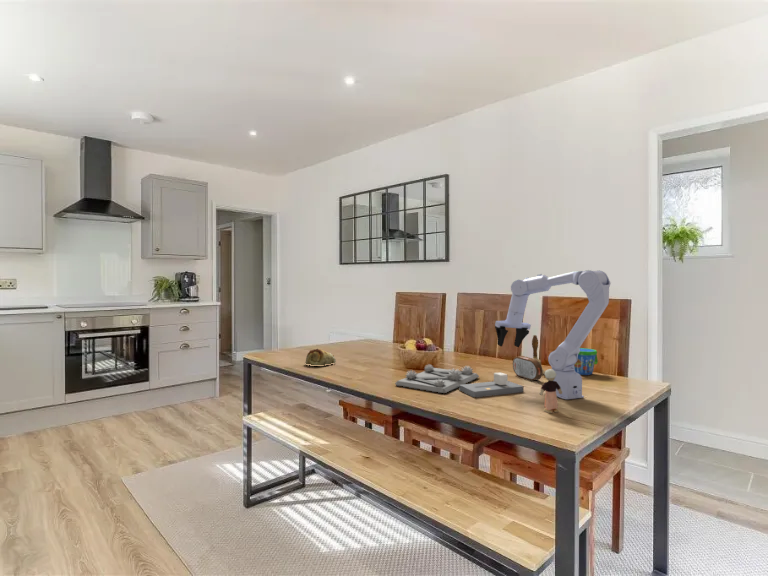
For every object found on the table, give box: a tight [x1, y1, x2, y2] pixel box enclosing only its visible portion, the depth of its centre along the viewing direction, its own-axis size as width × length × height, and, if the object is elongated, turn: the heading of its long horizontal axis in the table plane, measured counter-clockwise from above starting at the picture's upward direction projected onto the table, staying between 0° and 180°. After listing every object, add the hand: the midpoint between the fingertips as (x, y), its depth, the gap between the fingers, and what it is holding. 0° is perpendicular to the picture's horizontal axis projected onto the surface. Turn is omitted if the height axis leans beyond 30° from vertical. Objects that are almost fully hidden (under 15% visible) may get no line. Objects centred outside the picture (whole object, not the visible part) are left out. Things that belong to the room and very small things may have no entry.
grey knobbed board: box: [394, 364, 480, 394], centre depth 164 cm, size 30×22×7 cm
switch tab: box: [493, 371, 509, 385], centre depth 152 cm, size 4×3×4 cm
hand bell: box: [531, 334, 546, 375], centre depth 180 cm, size 8×8×16 cm
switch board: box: [458, 380, 525, 398], centre depth 150 cm, size 10×20×2 cm, turn 110°
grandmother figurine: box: [539, 368, 562, 414], centre depth 127 cm, size 8×4×13 cm, turn 118°
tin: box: [512, 355, 543, 381], centre depth 170 cm, size 15×3×8 cm, turn 22°
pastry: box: [304, 348, 337, 365], centre depth 200 cm, size 14×12×8 cm
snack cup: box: [574, 347, 599, 376], centre depth 178 cm, size 16×10×10 cm
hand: (508, 345), depth 160 cm, fingers open, 7 cm apart
